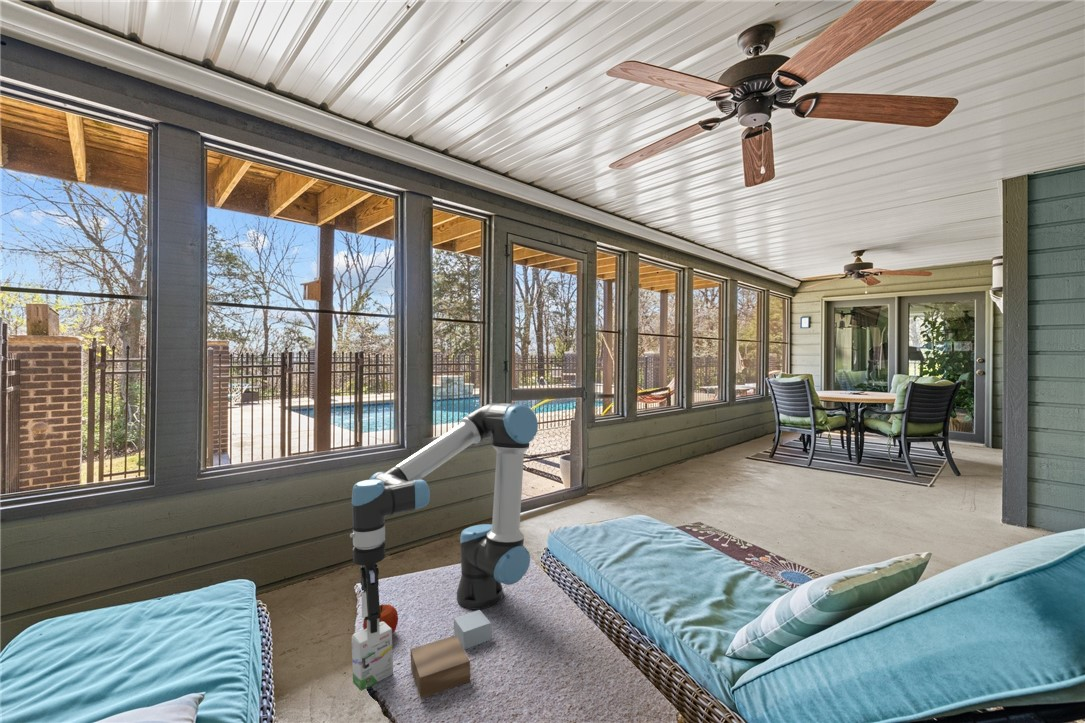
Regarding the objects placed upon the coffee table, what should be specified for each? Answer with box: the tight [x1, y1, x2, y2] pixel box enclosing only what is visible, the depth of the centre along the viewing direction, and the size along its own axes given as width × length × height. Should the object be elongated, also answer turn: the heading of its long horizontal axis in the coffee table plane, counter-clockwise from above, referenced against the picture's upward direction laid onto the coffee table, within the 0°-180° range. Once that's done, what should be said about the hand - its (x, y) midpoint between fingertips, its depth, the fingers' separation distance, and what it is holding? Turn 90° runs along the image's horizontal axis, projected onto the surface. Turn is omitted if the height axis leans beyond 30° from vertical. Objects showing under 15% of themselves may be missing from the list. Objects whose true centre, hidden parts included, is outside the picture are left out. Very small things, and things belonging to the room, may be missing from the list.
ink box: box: [351, 622, 394, 692], centre depth 114 cm, size 8×5×12 cm, turn 136°
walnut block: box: [409, 635, 471, 700], centre depth 114 cm, size 12×12×5 cm
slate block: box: [453, 609, 492, 651], centre depth 130 cm, size 8×8×5 cm
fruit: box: [362, 603, 399, 635], centre depth 131 cm, size 10×10×10 cm
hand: (370, 629), depth 114 cm, fingers open, 13 cm apart
